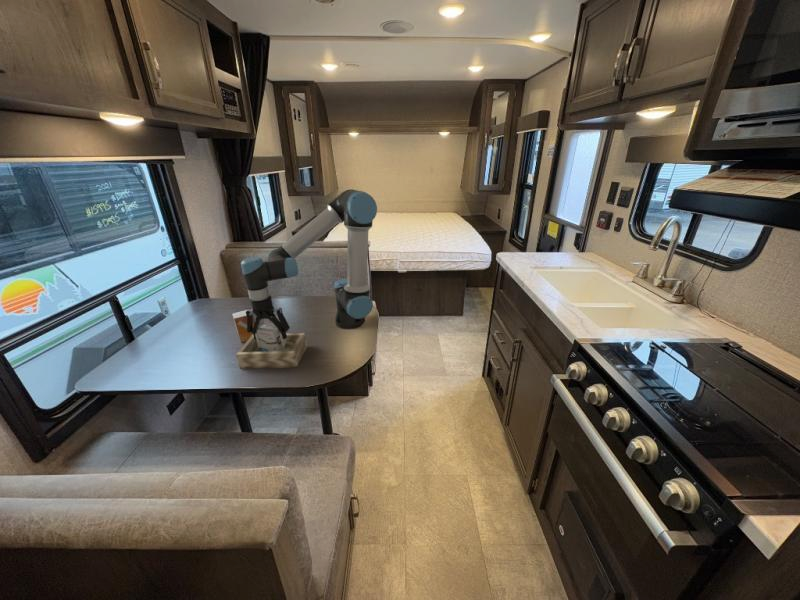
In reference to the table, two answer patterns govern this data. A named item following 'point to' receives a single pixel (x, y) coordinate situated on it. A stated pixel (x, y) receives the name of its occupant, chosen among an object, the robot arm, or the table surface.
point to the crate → (272, 353)
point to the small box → (242, 325)
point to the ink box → (269, 337)
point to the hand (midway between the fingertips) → (272, 345)
